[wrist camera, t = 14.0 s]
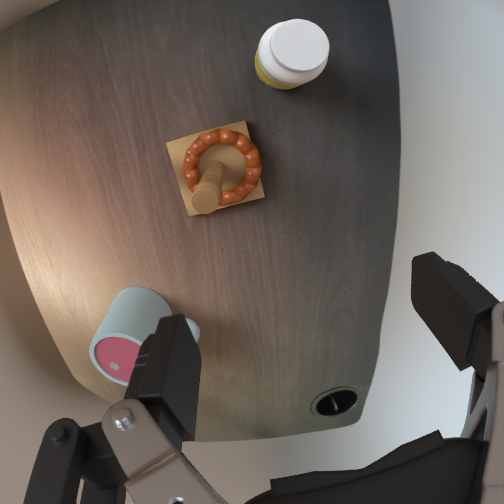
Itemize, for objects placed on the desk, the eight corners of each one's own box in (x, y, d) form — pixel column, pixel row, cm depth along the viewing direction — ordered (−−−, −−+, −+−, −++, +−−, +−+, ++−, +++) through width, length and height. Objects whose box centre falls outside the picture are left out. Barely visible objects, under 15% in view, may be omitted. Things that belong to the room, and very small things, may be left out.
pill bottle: (296, 33, 28) (322, 3, 18) (316, 80, 31) (350, 68, 21) (244, 49, 29) (249, 22, 19) (265, 97, 32) (279, 89, 22)
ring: (174, 142, 32) (171, 143, 31) (248, 120, 32) (249, 120, 30) (197, 211, 36) (196, 216, 34) (268, 191, 35) (270, 195, 34)
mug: (123, 339, 45) (106, 386, 36) (104, 289, 41) (78, 333, 32) (209, 334, 45) (204, 385, 36) (197, 280, 41) (188, 328, 32)
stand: (168, 142, 33) (127, 160, 20) (245, 120, 33) (251, 123, 20) (190, 214, 37) (167, 270, 24) (264, 194, 36) (280, 242, 24)
